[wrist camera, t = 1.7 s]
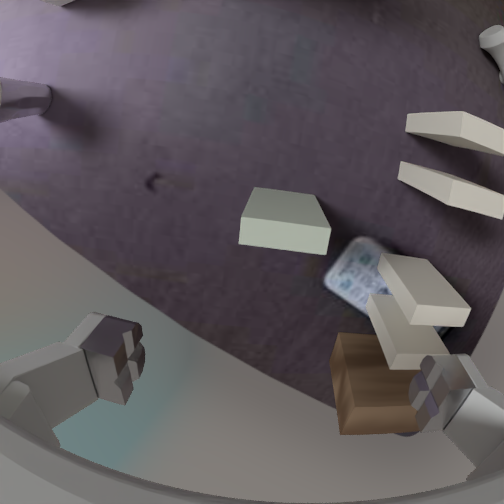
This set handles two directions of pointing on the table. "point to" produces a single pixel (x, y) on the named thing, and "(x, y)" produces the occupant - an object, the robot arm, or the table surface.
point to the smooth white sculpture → (494, 46)
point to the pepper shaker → (57, 2)
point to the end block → (369, 388)
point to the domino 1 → (284, 222)
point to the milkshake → (22, 98)
